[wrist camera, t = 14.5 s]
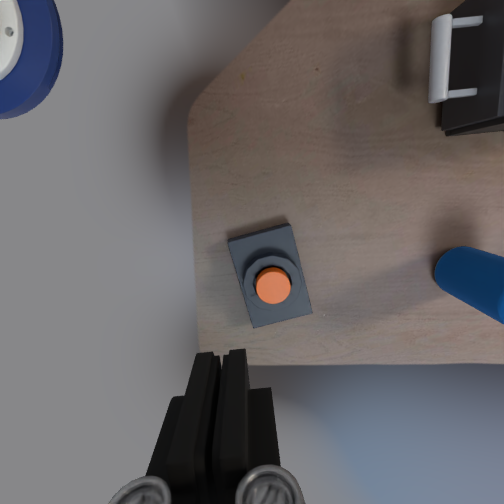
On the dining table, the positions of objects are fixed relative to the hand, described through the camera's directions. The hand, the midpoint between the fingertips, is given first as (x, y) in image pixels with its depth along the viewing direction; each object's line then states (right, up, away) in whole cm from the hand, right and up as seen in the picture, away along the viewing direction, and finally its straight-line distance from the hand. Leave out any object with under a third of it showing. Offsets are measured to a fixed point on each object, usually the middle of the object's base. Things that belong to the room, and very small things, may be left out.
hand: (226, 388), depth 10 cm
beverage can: (+28, +2, +29) cm, 40 cm away
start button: (+3, +1, +25) cm, 25 cm away
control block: (+3, +2, +29) cm, 29 cm away
